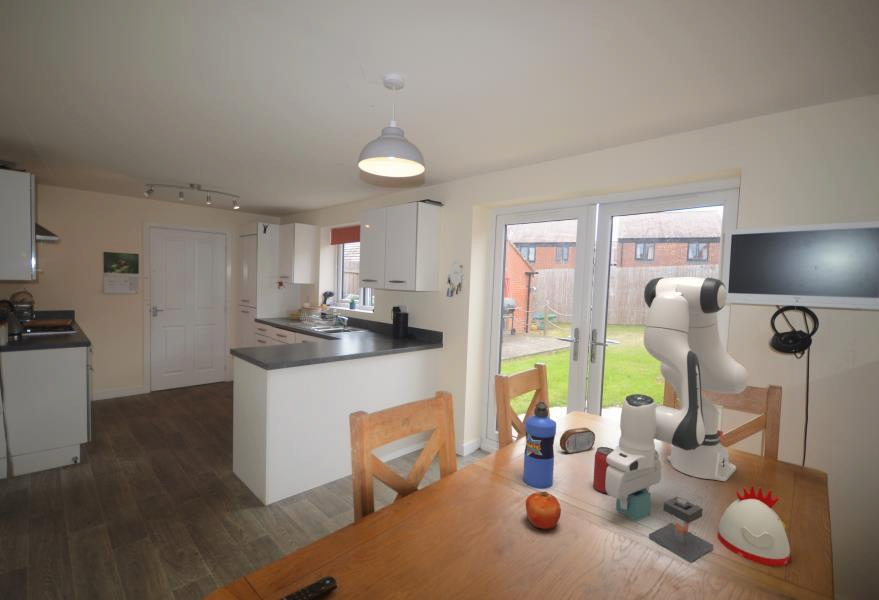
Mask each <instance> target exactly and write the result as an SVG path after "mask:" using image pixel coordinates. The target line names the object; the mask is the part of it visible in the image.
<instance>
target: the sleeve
mask: <svg viewBox="0 0 879 600" xmlns="http://www.w3.org/2000/svg"><path fill="white" fill-rule="evenodd" d="M651 495H652V494H651V492H649V491H648V492H647V491H645V490H643V489H642V490H639V491H637V492H634V493H632V494H629V495H628V498H627V501H628V502H629V503H630V505H629V508H628V509H626V510H624V509H623V508H621V507H620V499H617V498H616V505H615V510H616V511H617V512H620V513H622V514H623V515H624V516H626V517H629V518H630V519H632V520H634V521H635V522H637V521H639V520H641V519H643V518H646V517H649V516H650V513H651V498H652V497H651Z"/></svg>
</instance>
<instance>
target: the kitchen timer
mask: <svg viewBox="0 0 879 600" xmlns="http://www.w3.org/2000/svg"><path fill="white" fill-rule="evenodd" d="M742 489H743V494H744V495H741V494H740V493H739V491H738V489H735V493H736V496H737V498H738V499H737V500H734V501H733V502H732V503H730V505H729V506H728V507H727V508H726V509H725V511H724V512H723V514H722V517H721V518H720V521H719V522H718V526H717V538H718V540H719V542H720V543H721V544H722V545H723V546H724V547H725V548H726V549H728V550H730V551H731V552H733V553H734V554H736V555H738V556H739V557H742V558H744V559H746V560H749V561H751V562H754V563H758V564H762V565H766V566H772V567H773V566H774V567H779V566H785V565H788V564H789V562H788V561H790V556H791V548H790V543H789V539H788V536H787V533H786V524H785V523H784V522H783V521H782V520H781V518H780V517H779V515H778V513H777V512H776V511H775V510H774V509H773V507H774V506H775V505H776V504H777V502H778V501H779V496H776V497H774V498H772V491H771V489H768V491H767V493H766V494H765V496H763V491H762V487H761V486H759V488H758V490H757V494H756V493H755V487H754V485H753V484H751V485H750V490H749V492H748V490H747V489H746V487H745V486H743V487H742Z"/></svg>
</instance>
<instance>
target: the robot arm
mask: <svg viewBox="0 0 879 600" xmlns="http://www.w3.org/2000/svg"><path fill="white" fill-rule="evenodd" d="M644 287H645V288H644V292H643V297H644V302H645V304H646V305H647V307H648V308H649V310H648V314H647V316H646V321H645V326H644V333H643V345H644V348H645V349H646V351H647V353H648V354H650V356H651V357H653V358H654V359H655V360H656V361H659V362H660V366H659V368H660V369H659V370H660V373H661V375H662V377H663V378H664V379H665V381H666V382H667V383H668V384H670V386H671V387H672V388H673V390H674V392H675V394H676V396H677V400H678V403H679V409H678V408H674V407H669V406H667V405H666V406H665V405H663V404H660V403H656V401H655V399H654V398H653V397H651V396H650V395H645V394H641V393H640V394H639V393H635V394H629V395H628V396H626V397H625V398H624V400H623V403H622V407H621V414H620V421H619V422H620V423H619V427H620V432H621V433H620V437H619V440H618V445H617V446H616V447H615V449H614V451H613V452H611V453H610V454H609V455H608V456H607V458H606V462H607V463H608V464H610V465H609V466H608V467H607V470H606V480H605V489H606V492H607V493H606V494H607V495H609V496H611V497H612V498H615V499H616V500H617V499H620V507H621V508H623V509H624V510H626V509H628V508H629V505H630V503H629V502H628V501H627V498H628V495H629V494H632V493H634V492H637V491H639V490H642V489H643V490H645V491H647V492H649V490H650V487H652V486H655V485H658V484H659V483H660V482H661V481H662V462H661V459H660V458H659V457H660V455H659V452H658V451H657V450H656V446H655V445H656V444H655V440H657V441H661V442H663V443H666V444H667V443H668V444H670V445H671V452H670V455H667V458H666V459H667V460H668V461H669V462H670V465H671V466H672V468H674V469H675V470H677V471H679V472H680V473H682V474H685V475H687V476H691V477H694V478H699V479H707V480H716V481H721V482H726V481H728V479H729V478H730V477H731V476H732V475H733V474H734V473H735V471H736V470H737V466H736V465H735V464H733V463H731V462H729V456H730V455H729V451H728V450H727V449H726V448H725V447H724V446H723V444H721V439H720V438H722V437H723V436H724V431H723V430H719V429H718V427H719V414H720V413H719V410H718V407H717V406H716V405H715V404H714V403H713V402H712V401H710V400H709V399H707V398H706V397H705V395H704V394H703V392H702V390H703V391H709V392H713V393H718V394H723V395H724V394H725V395H739V394H741V393H742V392H744V391H745V389H746V388H747V387H748V385H749V380H750V379H749V373H748V371H747V370H746V368H745V366H743V365H742V364H740V363H739V362H737V361H736V360H735V359H734V358H733V357H732V356H731V355H729V353H728V352H727V351H726V349H725V348H724V346H723V345H722V341H721V339H720V332H719V331H720V330H719V325H718V324H719V323H718V314H717V313H718V312H719V311H721V310H722V309H723V308H724V307H725V305H726V302H727V290H726V289H727V288H726V286H725V283H724V282H723V281H721V280H720V279H719V278H718V279H717V278H713V277H697V276H677V277H655V278H652V279H650V280H649V281H648V283H647V284H646V285H645V286H644Z"/></svg>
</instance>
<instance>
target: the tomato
mask: <svg viewBox="0 0 879 600" xmlns="http://www.w3.org/2000/svg"><path fill="white" fill-rule="evenodd" d="M525 509H526V511H525V512H526V516H527V519H528V520H529V521H530V523H531V524H532V525H533V526H534V527H536V528H538V529H539V528H540V529H542V530H549V529H551V528H554V527H556V525H557V523H558V522H559V520H560V518H561V515H562V507H561V505H560V502H559V501H558V498H557V497H555V496H554V495H553V494H551V493H549V492H548V491H546V490H545V491H539V492H534V493H531V494H530V495H528V496H527V498H526V500H525Z"/></svg>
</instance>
